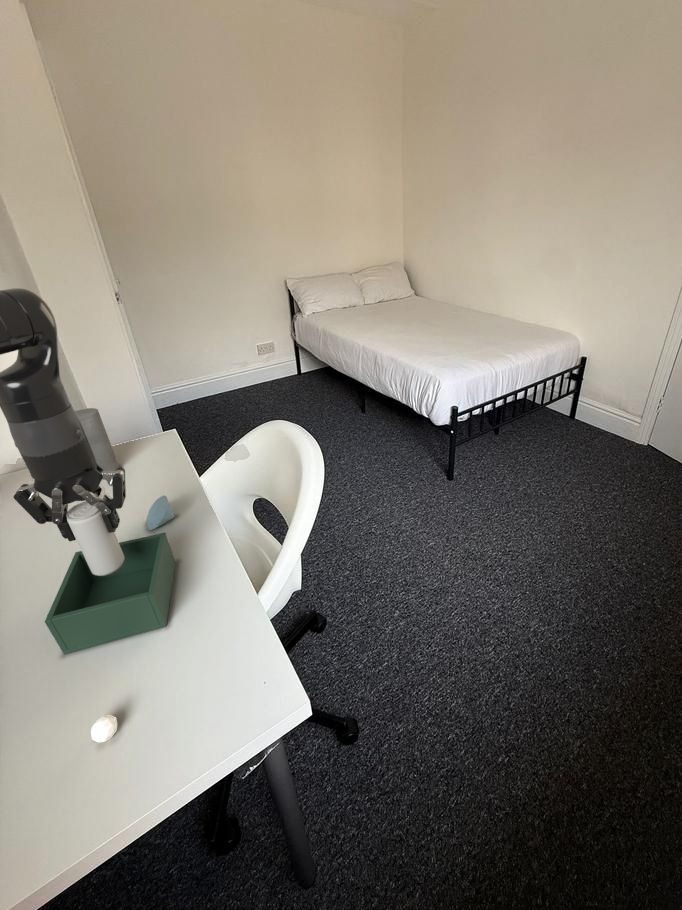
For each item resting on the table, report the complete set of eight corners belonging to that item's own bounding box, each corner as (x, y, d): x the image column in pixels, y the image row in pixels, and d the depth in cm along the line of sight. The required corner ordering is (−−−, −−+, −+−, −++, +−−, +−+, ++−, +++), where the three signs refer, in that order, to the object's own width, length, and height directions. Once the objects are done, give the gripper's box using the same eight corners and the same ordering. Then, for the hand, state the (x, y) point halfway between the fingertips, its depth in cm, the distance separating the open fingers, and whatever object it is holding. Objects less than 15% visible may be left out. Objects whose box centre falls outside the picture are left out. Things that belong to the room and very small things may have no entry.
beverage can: (85, 573, 68) (57, 515, 62) (112, 552, 72) (88, 496, 66) (106, 581, 66) (79, 523, 60) (132, 559, 70) (109, 503, 64)
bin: (64, 655, 65) (44, 622, 61) (90, 583, 77) (75, 552, 73) (166, 626, 69) (153, 594, 65) (175, 562, 81) (165, 532, 77)
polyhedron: (125, 721, 56) (118, 708, 55) (113, 747, 53) (105, 734, 52) (103, 722, 56) (95, 710, 55) (90, 748, 53) (82, 736, 52)
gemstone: (183, 493, 95) (161, 487, 92) (186, 516, 90) (164, 510, 86) (163, 517, 96) (142, 512, 93) (166, 541, 91) (143, 536, 87)
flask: (49, 490, 103) (14, 419, 93) (55, 478, 107) (22, 409, 98) (118, 475, 108) (92, 406, 99) (120, 464, 113) (95, 397, 104)
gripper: (116, 419, 63) (148, 508, 70) (3, 436, 59) (49, 528, 67) (104, 444, 56) (140, 538, 64) (-25, 464, 52) (30, 562, 60)
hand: (94, 532), depth 65 cm, fingers closed on beverage can, 5 cm apart
